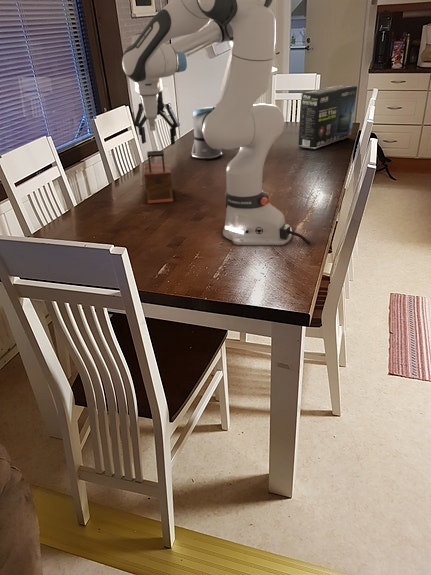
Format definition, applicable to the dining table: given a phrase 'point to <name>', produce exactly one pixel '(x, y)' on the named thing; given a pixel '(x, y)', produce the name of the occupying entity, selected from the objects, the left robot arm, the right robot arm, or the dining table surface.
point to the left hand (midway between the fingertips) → (158, 143)
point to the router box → (326, 115)
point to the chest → (159, 189)
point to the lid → (156, 165)
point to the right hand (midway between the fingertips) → (152, 127)
